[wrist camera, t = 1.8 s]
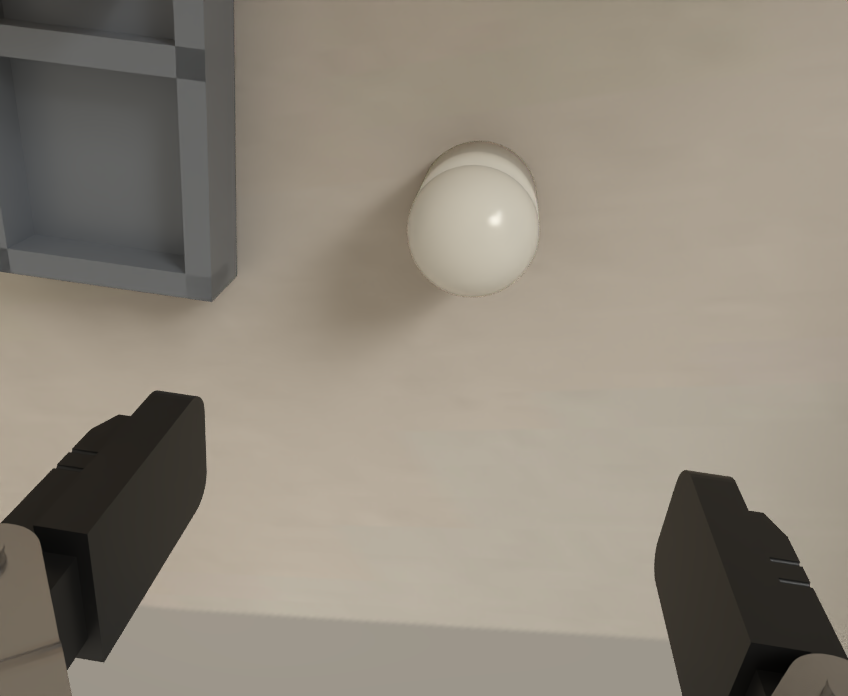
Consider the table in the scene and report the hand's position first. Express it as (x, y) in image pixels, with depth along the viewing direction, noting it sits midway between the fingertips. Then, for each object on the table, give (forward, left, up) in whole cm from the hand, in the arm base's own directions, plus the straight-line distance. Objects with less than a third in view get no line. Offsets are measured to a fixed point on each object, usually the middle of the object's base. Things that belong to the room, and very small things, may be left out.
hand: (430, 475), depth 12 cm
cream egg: (0, 0, -18) cm, 18 cm away
